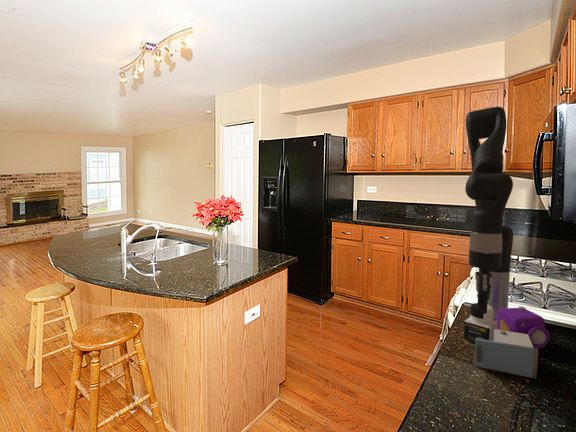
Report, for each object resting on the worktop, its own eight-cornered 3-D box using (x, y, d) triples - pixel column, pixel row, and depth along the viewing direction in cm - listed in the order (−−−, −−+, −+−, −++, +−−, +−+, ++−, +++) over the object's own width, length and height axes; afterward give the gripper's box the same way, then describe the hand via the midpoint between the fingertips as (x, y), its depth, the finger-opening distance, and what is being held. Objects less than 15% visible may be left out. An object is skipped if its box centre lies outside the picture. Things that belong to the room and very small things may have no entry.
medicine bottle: (463, 342, 105) (464, 304, 103) (472, 335, 109) (474, 299, 108) (488, 351, 99) (490, 311, 98) (497, 343, 104) (499, 305, 103)
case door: (474, 363, 92) (475, 337, 91) (535, 376, 85) (537, 348, 85) (474, 367, 90) (475, 340, 89) (537, 380, 84) (539, 351, 83)
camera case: (492, 352, 98) (494, 327, 98) (529, 359, 94) (531, 333, 94) (495, 369, 90) (497, 341, 89) (536, 377, 86) (538, 348, 85)
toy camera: (530, 357, 95) (532, 323, 95) (489, 336, 109) (491, 306, 108) (559, 352, 98) (561, 318, 97) (516, 332, 111) (518, 302, 110)
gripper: (469, 244, 98) (466, 302, 100) (469, 252, 86) (466, 318, 88) (499, 246, 95) (496, 307, 96) (504, 254, 83) (500, 323, 85)
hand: (482, 312), depth 92 cm, fingers closed
